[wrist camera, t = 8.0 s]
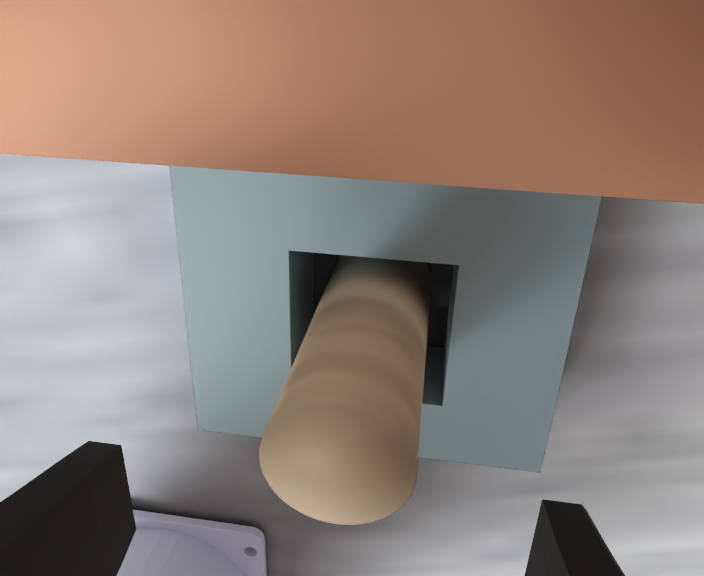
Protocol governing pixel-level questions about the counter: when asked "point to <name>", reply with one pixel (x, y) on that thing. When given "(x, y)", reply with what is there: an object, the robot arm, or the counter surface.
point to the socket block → (398, 244)
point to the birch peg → (354, 396)
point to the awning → (368, 89)
